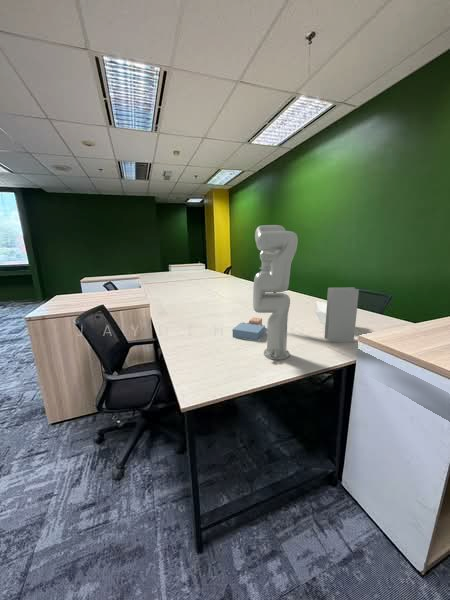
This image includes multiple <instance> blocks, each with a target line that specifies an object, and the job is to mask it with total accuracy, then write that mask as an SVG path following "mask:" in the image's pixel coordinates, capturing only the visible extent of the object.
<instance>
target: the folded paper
mask: <svg viewBox="0 0 450 600" xmlns="http://www.w3.org/2000/svg"><path fill="white" fill-rule="evenodd" d="M326 309H327V302H323V301H318V300H316V301H315V314H316V316H317V318H318V320H319V323H320V324H321V325H322V324H323V325H325V323H326Z"/></svg>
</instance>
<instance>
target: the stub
mask: <svg viewBox="0 0 450 600" xmlns="http://www.w3.org/2000/svg"><path fill="white" fill-rule="evenodd" d="M248 323H249V324H258V325H263V318H262V317H251V319H249V320H248Z"/></svg>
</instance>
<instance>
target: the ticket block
mask: <svg viewBox="0 0 450 600" xmlns="http://www.w3.org/2000/svg"><path fill="white" fill-rule="evenodd" d="M265 333H266V325H265V324H262V325H258V324H249V322H240V323H239V324H237V325H236V326H234V327H233V328H232V338H236V339H243V340H248V341H249V340H250V341H254V342H255V341H256V342H258V341H259V340H260V339H261V338H262V337H263V336H264V335H265Z"/></svg>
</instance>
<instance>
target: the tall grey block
mask: <svg viewBox="0 0 450 600" xmlns="http://www.w3.org/2000/svg"><path fill="white" fill-rule="evenodd" d="M359 293H360V288H356V287H328V288H327V296H326V298H327V299H326V303H327V309H326V323H325V324H324V336H323V338H324V339H326V342H327V343H328V342H329V343H354V340H355V333H356V332H355V329H356V321H357V313H358V302H359V295H360V294H359Z"/></svg>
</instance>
